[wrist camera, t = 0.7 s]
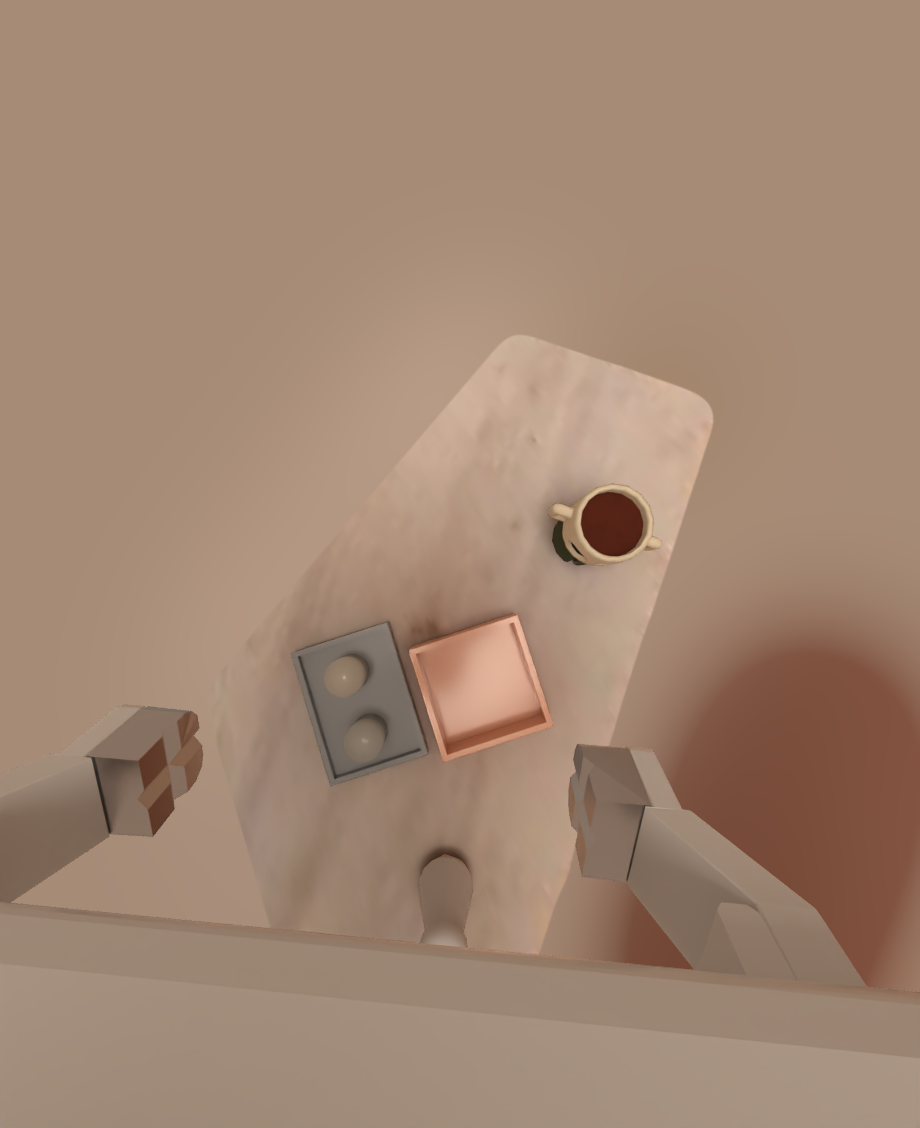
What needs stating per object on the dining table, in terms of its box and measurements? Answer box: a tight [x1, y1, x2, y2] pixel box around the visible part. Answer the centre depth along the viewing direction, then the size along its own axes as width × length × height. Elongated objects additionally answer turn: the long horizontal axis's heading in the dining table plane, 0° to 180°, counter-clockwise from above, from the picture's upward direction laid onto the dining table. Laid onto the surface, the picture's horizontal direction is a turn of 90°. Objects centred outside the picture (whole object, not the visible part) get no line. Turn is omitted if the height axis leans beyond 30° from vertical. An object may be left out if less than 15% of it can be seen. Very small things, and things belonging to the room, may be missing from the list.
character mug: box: [548, 484, 662, 566], centre depth 49 cm, size 11×7×13 cm, turn 70°
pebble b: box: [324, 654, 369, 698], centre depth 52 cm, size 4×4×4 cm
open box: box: [408, 614, 554, 762], centre depth 52 cm, size 12×12×4 cm
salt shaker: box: [418, 854, 473, 948], centre depth 47 cm, size 6×6×13 cm
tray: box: [291, 622, 429, 786], centre depth 54 cm, size 15×11×1 cm
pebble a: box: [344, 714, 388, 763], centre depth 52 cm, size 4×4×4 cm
